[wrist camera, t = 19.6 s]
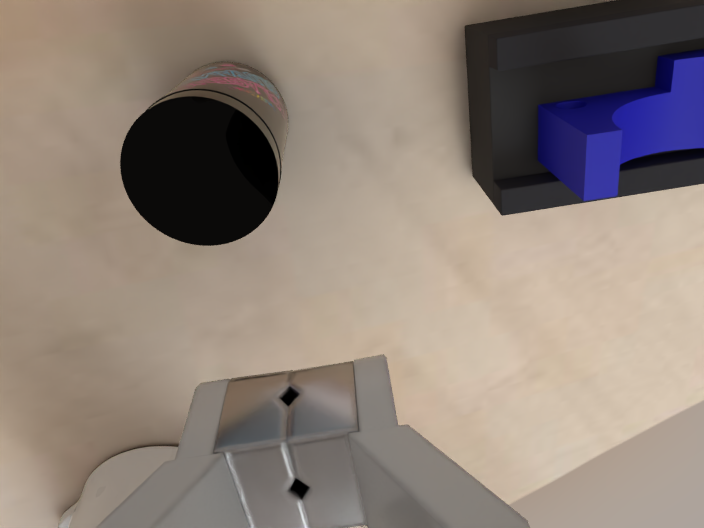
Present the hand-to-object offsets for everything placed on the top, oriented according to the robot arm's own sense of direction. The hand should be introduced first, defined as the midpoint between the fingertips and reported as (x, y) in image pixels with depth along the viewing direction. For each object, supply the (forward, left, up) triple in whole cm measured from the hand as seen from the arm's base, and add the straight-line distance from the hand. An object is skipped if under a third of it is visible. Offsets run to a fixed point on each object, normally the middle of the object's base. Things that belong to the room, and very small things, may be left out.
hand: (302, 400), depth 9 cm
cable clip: (-3, -17, -22) cm, 28 cm away
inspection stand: (-3, -17, -27) cm, 32 cm away
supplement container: (-1, +5, -27) cm, 28 cm away
